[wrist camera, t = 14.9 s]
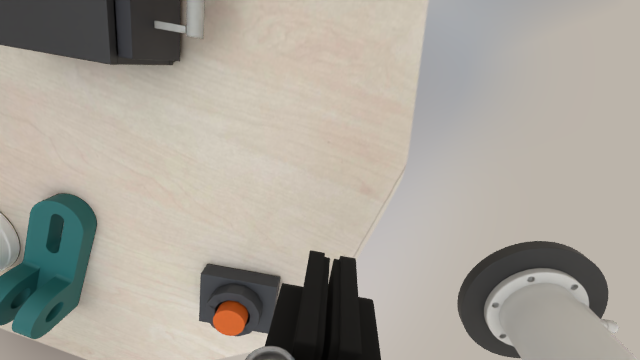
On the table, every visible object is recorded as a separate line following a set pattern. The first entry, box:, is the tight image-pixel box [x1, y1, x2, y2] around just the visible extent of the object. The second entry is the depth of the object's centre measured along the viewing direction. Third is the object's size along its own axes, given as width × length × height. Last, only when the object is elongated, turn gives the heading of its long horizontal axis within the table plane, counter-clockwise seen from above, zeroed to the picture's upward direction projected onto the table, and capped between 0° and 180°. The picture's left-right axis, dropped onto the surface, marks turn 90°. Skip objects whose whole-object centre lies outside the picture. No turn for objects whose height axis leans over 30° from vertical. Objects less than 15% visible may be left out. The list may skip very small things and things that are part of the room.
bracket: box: [0, 194, 97, 339], centre depth 39 cm, size 18×7×8 cm, turn 154°
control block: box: [199, 264, 280, 336], centre depth 41 cm, size 10×8×4 cm
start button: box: [213, 301, 248, 336], centre depth 39 cm, size 4×4×2 cm
